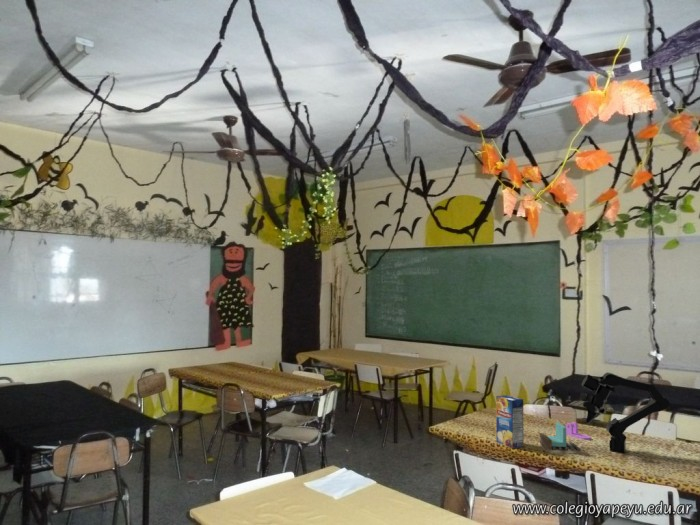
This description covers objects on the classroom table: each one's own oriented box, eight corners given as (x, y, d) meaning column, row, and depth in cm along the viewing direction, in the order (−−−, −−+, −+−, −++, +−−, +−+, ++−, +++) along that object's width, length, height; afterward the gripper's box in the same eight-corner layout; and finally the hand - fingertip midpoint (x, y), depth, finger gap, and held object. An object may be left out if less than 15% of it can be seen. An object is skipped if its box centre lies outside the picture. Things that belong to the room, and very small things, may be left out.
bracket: (565, 435, 286) (565, 422, 286) (571, 433, 289) (571, 421, 289) (587, 441, 275) (586, 427, 275) (593, 439, 278) (593, 426, 278)
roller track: (573, 445, 265) (573, 434, 265) (583, 453, 252) (583, 441, 252) (538, 444, 266) (538, 432, 266) (546, 452, 253) (546, 439, 253)
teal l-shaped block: (558, 440, 264) (558, 422, 265) (566, 446, 253) (566, 427, 254) (544, 440, 265) (544, 421, 265) (552, 446, 254) (551, 427, 254)
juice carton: (496, 442, 269) (496, 396, 271) (507, 440, 272) (507, 395, 274) (512, 448, 258) (512, 400, 260) (523, 446, 262) (523, 399, 263)
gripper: (592, 389, 273) (578, 415, 274) (580, 385, 260) (566, 412, 261) (612, 400, 265) (598, 426, 266) (601, 397, 252) (586, 424, 253)
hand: (587, 422), depth 261 cm, fingers closed
